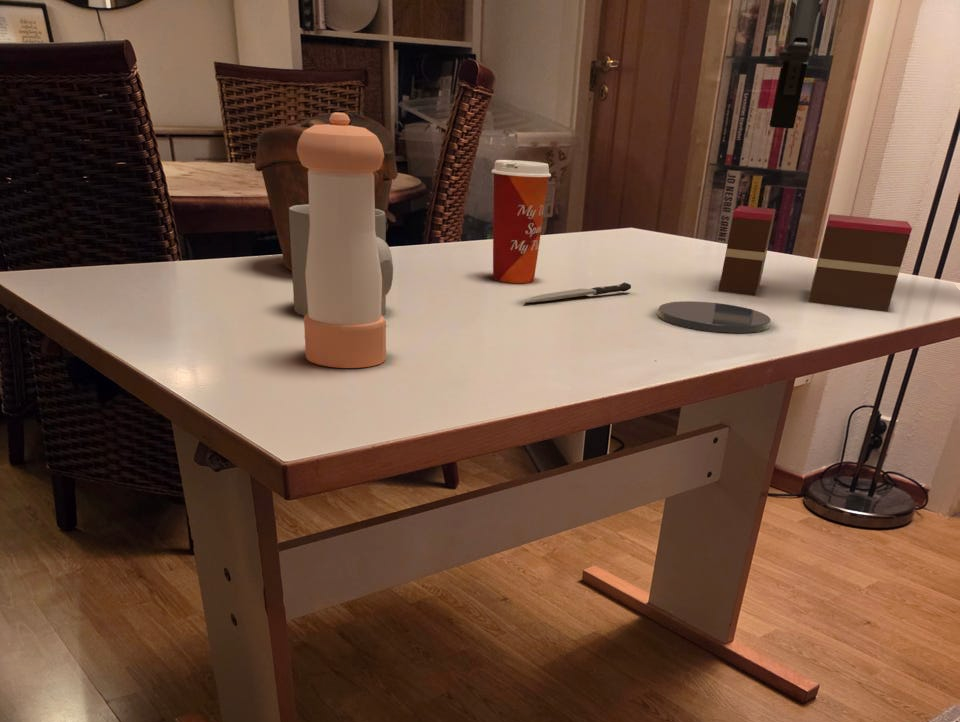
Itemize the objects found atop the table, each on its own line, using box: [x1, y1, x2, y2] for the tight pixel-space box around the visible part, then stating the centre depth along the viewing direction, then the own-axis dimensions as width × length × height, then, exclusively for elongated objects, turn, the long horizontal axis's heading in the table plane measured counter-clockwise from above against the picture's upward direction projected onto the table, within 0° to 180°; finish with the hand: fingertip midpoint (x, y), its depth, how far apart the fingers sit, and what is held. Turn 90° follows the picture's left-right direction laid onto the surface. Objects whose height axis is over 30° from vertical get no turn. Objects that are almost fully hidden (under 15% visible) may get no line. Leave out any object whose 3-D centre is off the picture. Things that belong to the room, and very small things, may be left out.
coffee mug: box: [289, 204, 394, 317], centre depth 91 cm, size 13×10×10 cm
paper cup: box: [490, 159, 552, 284], centre depth 113 cm, size 8×8×14 cm
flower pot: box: [254, 112, 399, 272], centre depth 111 cm, size 18×20×18 cm
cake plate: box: [657, 300, 771, 334], centre depth 102 cm, size 13×13×1 cm
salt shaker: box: [297, 111, 387, 369], centre depth 74 cm, size 7×7×19 cm
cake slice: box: [718, 205, 777, 296], centre depth 118 cm, size 5×8×10 cm, turn 161°
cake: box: [808, 213, 913, 312], centre depth 115 cm, size 10×8×10 cm
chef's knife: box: [523, 281, 632, 303], centre depth 109 cm, size 19×1×3 cm
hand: (780, 127), depth 110 cm, fingers open, 13 cm apart
